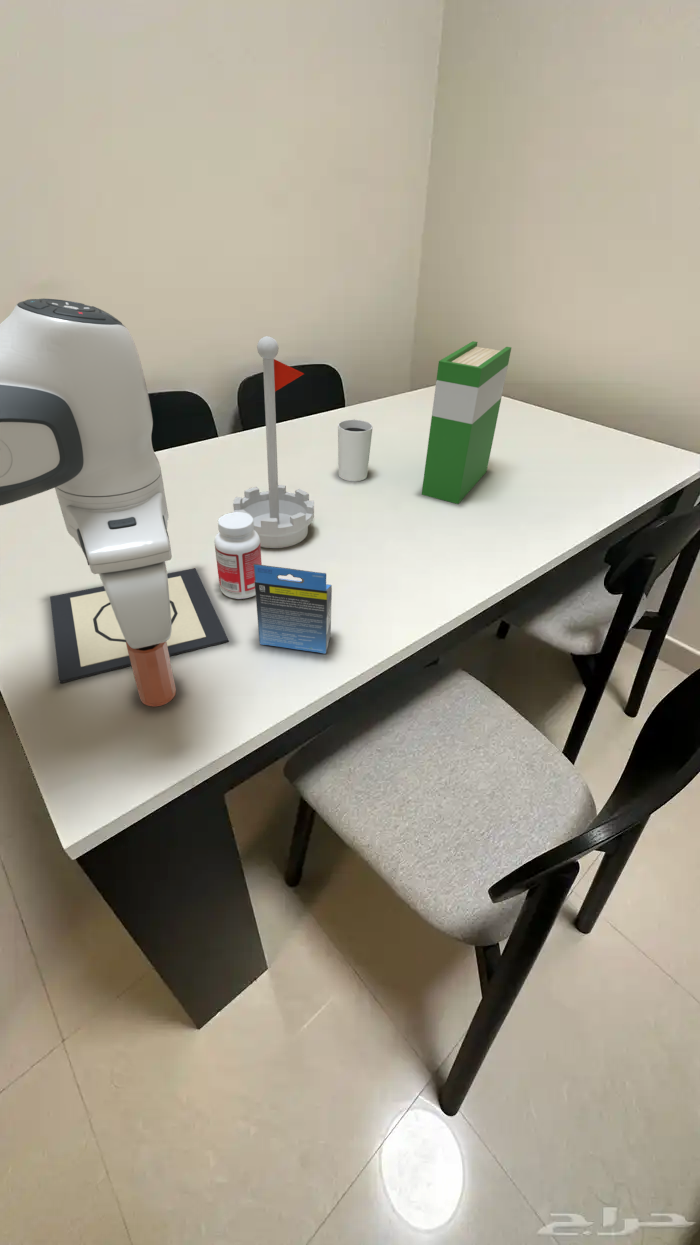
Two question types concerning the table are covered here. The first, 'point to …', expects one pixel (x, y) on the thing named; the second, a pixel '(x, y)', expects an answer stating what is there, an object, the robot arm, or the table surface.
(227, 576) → the pill bottle
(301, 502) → the flag stand
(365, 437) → the white cup
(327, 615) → the blue retail box
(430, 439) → the hardback book
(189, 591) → the desk mat
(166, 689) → the pen cup
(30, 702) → the table surface
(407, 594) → the table surface
